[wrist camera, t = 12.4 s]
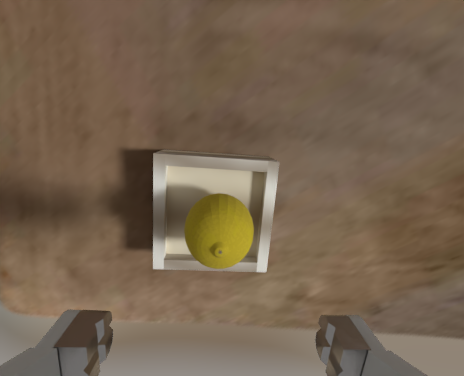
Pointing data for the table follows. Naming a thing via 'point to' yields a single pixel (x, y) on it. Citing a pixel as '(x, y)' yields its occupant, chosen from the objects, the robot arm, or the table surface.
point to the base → (203, 184)
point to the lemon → (219, 231)
